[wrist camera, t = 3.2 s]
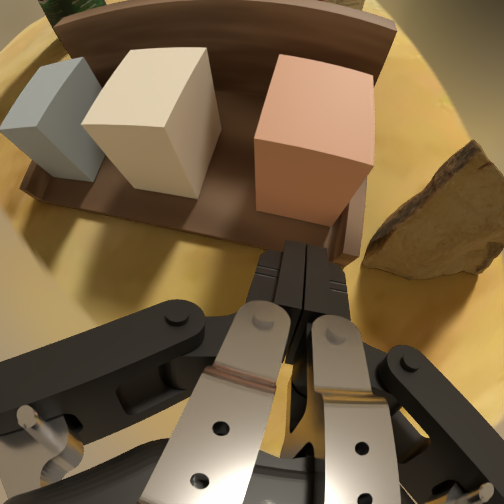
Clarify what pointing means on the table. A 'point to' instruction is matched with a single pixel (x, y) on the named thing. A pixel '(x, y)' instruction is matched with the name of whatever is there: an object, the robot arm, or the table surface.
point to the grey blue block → (57, 120)
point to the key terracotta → (313, 140)
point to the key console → (221, 109)
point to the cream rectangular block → (159, 119)
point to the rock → (445, 222)
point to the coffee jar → (66, 8)
